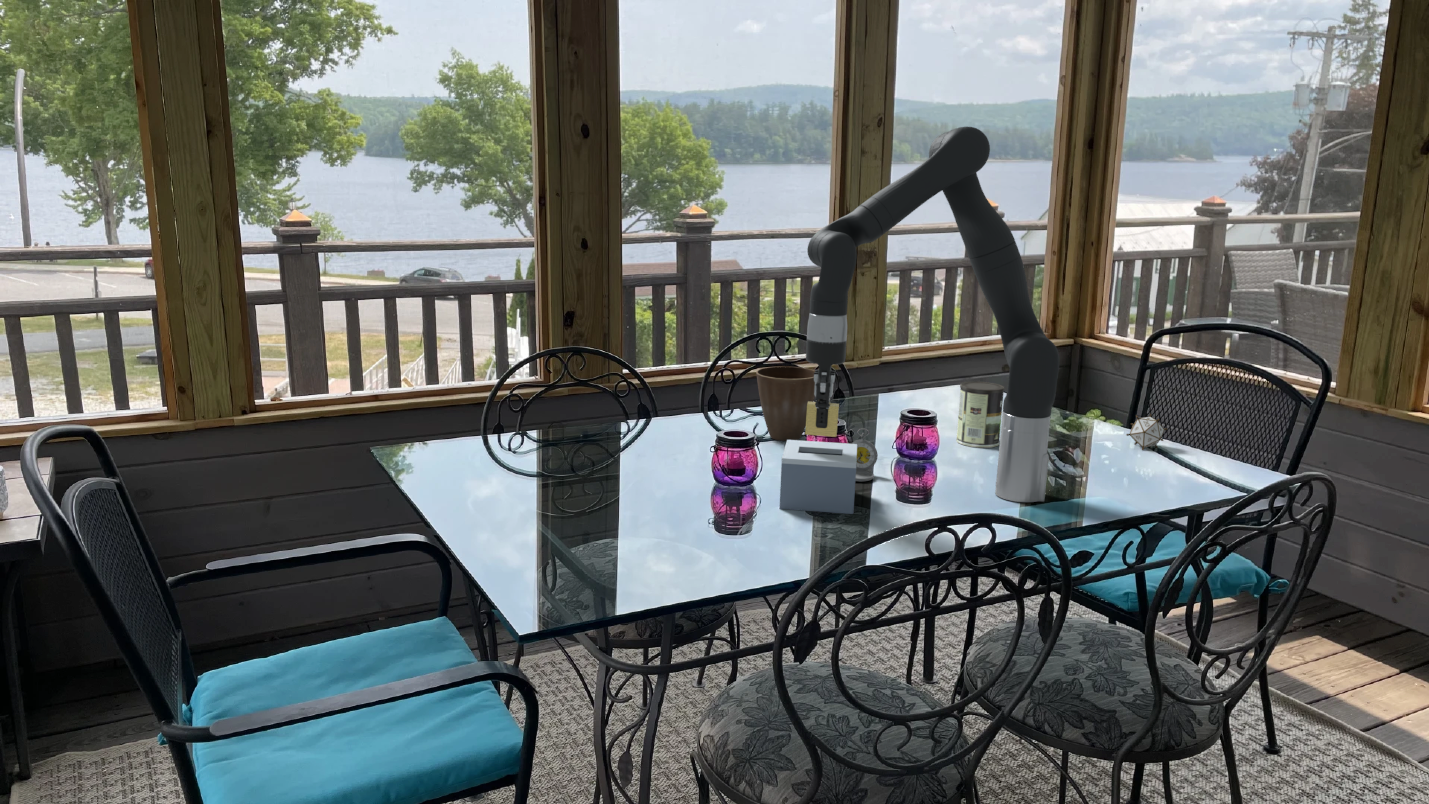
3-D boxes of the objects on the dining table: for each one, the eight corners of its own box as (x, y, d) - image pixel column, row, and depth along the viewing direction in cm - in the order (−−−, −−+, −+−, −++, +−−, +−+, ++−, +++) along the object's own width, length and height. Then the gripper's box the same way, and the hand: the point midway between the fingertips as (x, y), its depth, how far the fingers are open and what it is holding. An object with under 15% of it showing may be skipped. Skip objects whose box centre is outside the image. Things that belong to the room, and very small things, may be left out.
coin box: (854, 491, 213) (857, 444, 211) (853, 514, 200) (856, 463, 198) (784, 487, 215) (787, 439, 213) (779, 508, 202) (781, 458, 199)
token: (836, 433, 205) (839, 403, 204) (836, 437, 203) (838, 406, 202) (805, 431, 206) (807, 401, 205) (805, 434, 204) (807, 404, 202)
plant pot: (794, 449, 244) (797, 381, 241) (741, 437, 253) (744, 372, 249) (827, 437, 256) (831, 372, 252) (776, 426, 264) (779, 363, 261)
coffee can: (993, 437, 260) (998, 381, 257) (1004, 448, 250) (1009, 390, 247) (951, 436, 260) (956, 380, 257) (960, 447, 250) (965, 389, 247)
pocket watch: (849, 483, 219) (852, 437, 217) (834, 472, 227) (836, 427, 224) (885, 481, 221) (888, 435, 219) (869, 470, 229) (872, 425, 227)
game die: (1151, 464, 254) (1177, 438, 247) (1119, 451, 254) (1144, 424, 247) (1148, 438, 261) (1173, 412, 254) (1117, 425, 260) (1142, 399, 253)
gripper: (845, 344, 193) (840, 436, 197) (847, 332, 207) (842, 418, 210) (804, 342, 194) (800, 433, 198) (809, 330, 208) (804, 416, 211)
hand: (821, 425), depth 204 cm, fingers closed on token, 2 cm apart
